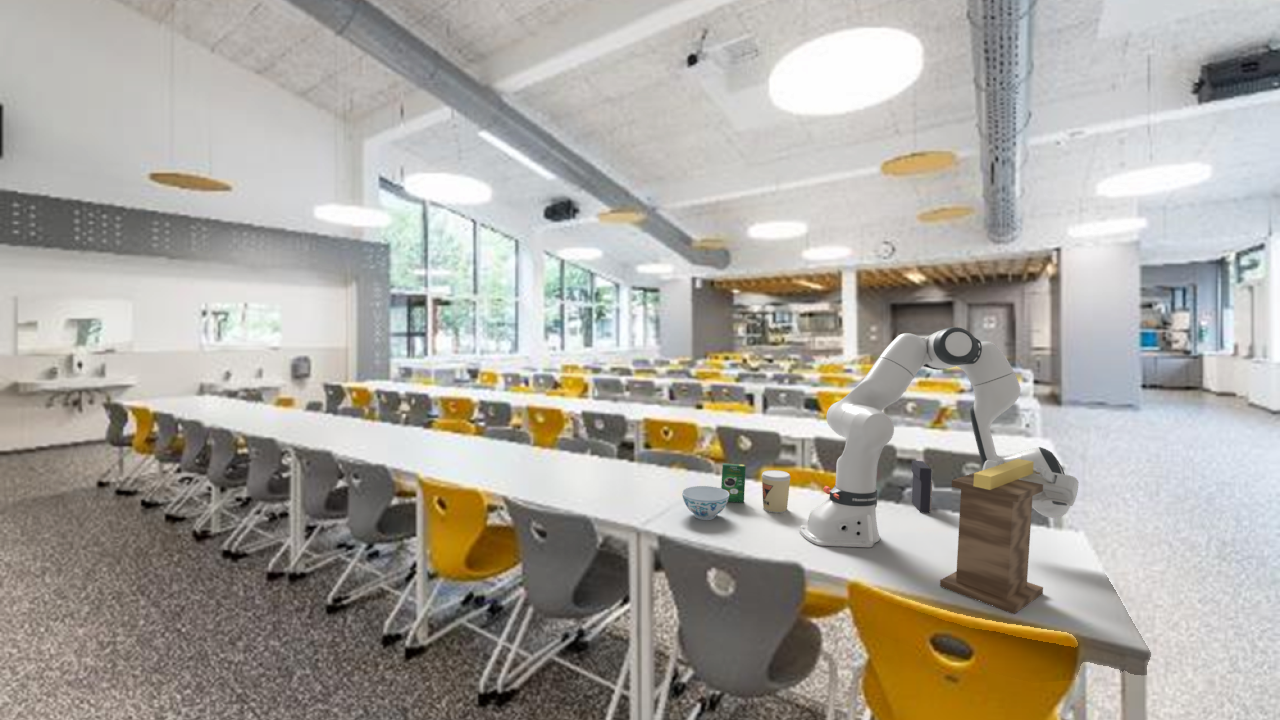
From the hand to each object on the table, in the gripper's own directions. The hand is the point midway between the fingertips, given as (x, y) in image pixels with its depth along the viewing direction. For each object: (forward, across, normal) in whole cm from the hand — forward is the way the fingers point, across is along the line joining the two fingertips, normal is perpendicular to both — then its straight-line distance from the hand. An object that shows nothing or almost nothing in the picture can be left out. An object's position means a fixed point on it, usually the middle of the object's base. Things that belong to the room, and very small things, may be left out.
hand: (1019, 466), depth 143 cm
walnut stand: (-3, 0, +30) cm, 30 cm away
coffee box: (-2, -82, +32) cm, 88 cm away
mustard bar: (+6, 0, +6) cm, 8 cm away
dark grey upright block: (-43, -41, +8) cm, 60 cm away
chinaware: (+14, -76, +41) cm, 88 cm away
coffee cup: (-7, -68, +29) cm, 74 cm away
